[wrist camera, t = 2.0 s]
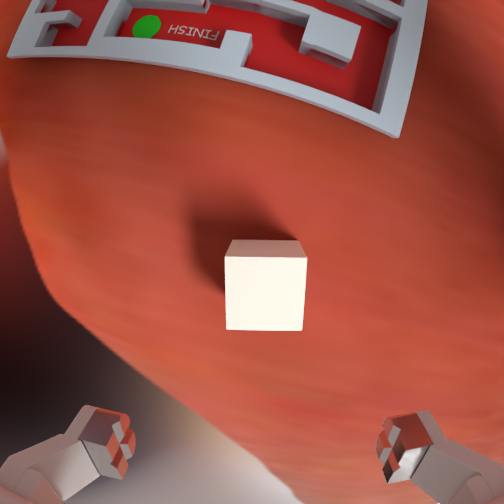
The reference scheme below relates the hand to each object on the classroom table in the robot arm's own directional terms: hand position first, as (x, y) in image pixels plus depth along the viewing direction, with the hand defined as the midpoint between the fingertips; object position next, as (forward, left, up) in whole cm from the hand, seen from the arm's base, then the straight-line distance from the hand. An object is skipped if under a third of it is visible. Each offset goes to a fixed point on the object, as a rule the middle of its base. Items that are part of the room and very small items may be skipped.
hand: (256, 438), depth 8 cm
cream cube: (0, 0, -17) cm, 17 cm away
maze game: (+4, -25, -17) cm, 31 cm away
